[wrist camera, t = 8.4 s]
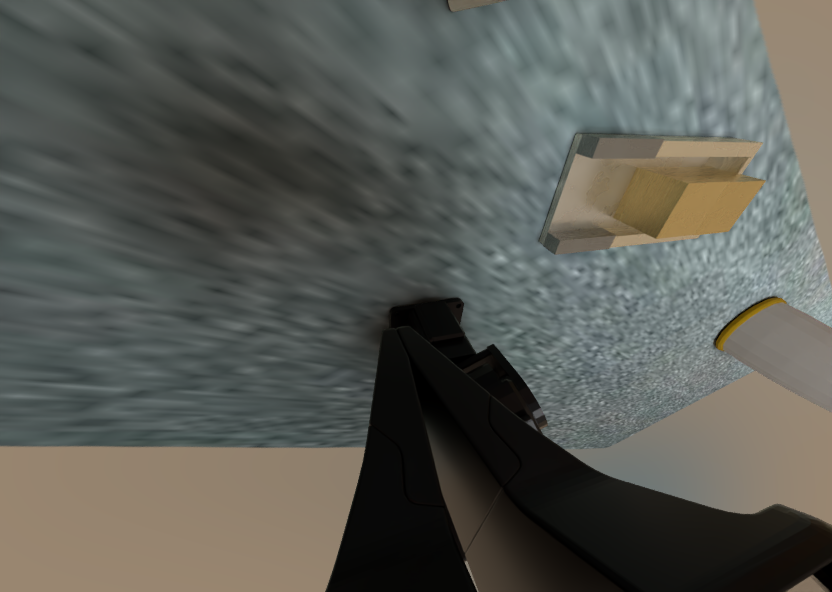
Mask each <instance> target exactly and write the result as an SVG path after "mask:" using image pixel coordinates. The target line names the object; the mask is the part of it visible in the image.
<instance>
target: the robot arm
mask: <svg viewBox="0 0 832 592" xmlns="http://www.w3.org/2000/svg"><path fill="white" fill-rule="evenodd" d="M457 304H458V305H457ZM463 307H464V303H463V301H462V300H461V299H451V300H444V301H437V302H430V303H423V304H416V305H409V306H402V307H395V308H393V309H391V311H390V321H389V329H385V330H383V331H382V336H381V343H380V350H379V357H378V365H377V372H376V379H375V386H374V393H373V400H372V407H371V414H370V421H369V427H368V434H367V441H366V447H365V453H364V458H363V463H362V467H361V471H360V476H359V479H358V483H357V487H356V491H355V494H354V498H353V501H352V505H351V509H350V512H349V516H348V519H347V523H346V526H345V530H344V534H343V538H342V541H341V545H340V548H339V551H338V555H337V558H336V562H335V565H334V568H333V571H332V574H331V577H330V580H329V583H328V585H327V588H326V591H325V592H477V590H476V588H475V586H474V583H473V581H472V579H471V576H470V574H469V572H468V569H467V567H466V565H465V561H468V564H469V567H470V570H471V572H472V575H473V578H474V580H475V583H476V586H477V588H478V591H479V592H832V525H831V524H828V523H826V522H824V521H822V520H820V519H818V518H815V517H813V516H811V515H808V514H806V513H803V512H800V511H797V510H794V509H792V508H789V507H786V506H784V505H781V504H774V505H772V506H769V507H767V508H765V509H763V510H761V511H759V512H757V513H755V514H739V513H733V512H727V511H723V510H719V509H715V508H711V507H708V506H705V505H702V504H698V503H695V502H692V501H688V500H685V499H682V498H678V497H675V496H672V495H668V494H665V493H662V492H658V491H655V490H651V489H648V488H645V487H642V486H638V485H635V484H632V483H629V482H625V481H622V480H618V479H616V478H613V477H610V476H608V475H605V474H603V473H601V472H599V471H597V470H595V469H593V468H591V467H590V466H588V465H586V464H585V463H583V462H582V461H580V460H579V459H577V458H576V457H574V456H573V455H571V454H570V453H569V452H567V451H565V450H564V449H563V448H562V447H560V446H559V445H557V444H556V443H554V442H553V441H551V440H550V439H549V438H547V437H546V436H544V435H543V434H542V432H541V430H540V429H542V428H544V427H546V426H548V423H547V420H546V418H545V415H544V413H543V411H542V409H541V407H540V406H539V404H538V402H537V400H536V399H535V397H534V395H533V394H532V392H531V391H530V389H529V388H528V386H527V385H526V383H525V382H524V380H523V379H522V378H521V377H520V375H519V374H518V373H517V372H516V370H515V369H514V368H513V367H512V366H511V364H510V363H509V362H508V361H507V360H506V358H505V357H504V356H503V355H502V354H501V352H500V351H499V350H498V349H497V348H496V346H495V345H494V344H492V345H490V346H488V347H487V349H485V350H483V351H481V352H479V353H477V354H476V352H475V350H474V349H473V347H472V345H471V344H470V342H469V340H468V339H467V337H466V336H465V332H464V331H463V329H462V327H461V326H460V322H461V317H462V312H463ZM395 313H398V314H396V315H395Z"/></svg>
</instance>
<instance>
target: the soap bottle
mask: <svg viewBox="0 0 832 592" xmlns="http://www.w3.org/2000/svg"><path fill="white" fill-rule="evenodd" d="M716 347H717V349H718V350H722V351H726V352H727V353H729V354H730V355H732V356H733V357H735V358H736V359H738V360H739V361H740V362H742V363H744V364H745V365H747V366H749V367H750V368H752V369H753V370H755V371H757V372H758V373H760V374H762V375H763V376H765V377H767V378H768V379H770V380H772V381H774V382H775V383H777V384H779V385H781V386H783V387H784V388H786V389H788V390H790V391H792V392H793V393H795V394H797V395H799V396H801V397H803V398H805V399H807V400H809V401H810V402H812V403H814V404H816V405H818V406H820V407H822V408H824V409H826V410H828V411H830V412H832V328H831V327H829V326H827V325H825V324H824V323H822V322H820V321H818V320H817V319H815V318H813V317H811V316H809V315H808V314H806V313H804V312H802V311H800V310H797V309H795V308H793V307H791V306H789V305H787V303H786V301H784V300H783V299H782V298H777V297H776V298H771V299H767V300H765V301H763V302H761V303H759V304H756V305H754V306H752V307H751V308H749V309H748V310H746V311H745V312H743V313H742V314H740V315H739V316H738V317H737V318H736V319H734V320H733V321H732V322H731V323H730V324H729V325H728V326H727V327H726V328H725V329H724V330H723V331H722V332H721V334H720V336H719V337H718V339H717V341H716Z"/></svg>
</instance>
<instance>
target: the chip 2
mask: <svg viewBox="0 0 832 592" xmlns="http://www.w3.org/2000/svg"><path fill="white" fill-rule="evenodd" d="M679 168H682V169H686V170H689V171H693V172H697V173H700V174H704V175H708V176H711V177H715V178H719V179H722V180H726V181H729V183H728V185H727V186H726V188H725V189H724V191H723V192H722V194H721V195H720V197H719V198H718V200H717V201H716V203H715V204H714V206H713V207H712V209H711V210H710V212H709V213H708V215H707V216H706V218H705V219H704V221H703V222H702V224H701V225H700V227H699V228H698V230H697V231H696V233H695V234H694V235H702V234H711V233H720V232H728V231H729V230H730V229H731V227H732V226H733V225H734V223H735V222H736V221H737V219H738V218H739V216H740V215H741V214H742V212H743V211H744V210H745V208H746V207H747V206H748V204H749V203H750V202H751V200H752V199H753V198H754V196H755V195H756V193H757V192H758V191H759V189H760V188H761V187H762V185H763V184H764V183H765V180H761V179H757V178H753V177H749V176H745V175H742V174H738V173H734V172H730V171H726V170H722V169H718V168H714V167H710V166H704V167H679Z"/></svg>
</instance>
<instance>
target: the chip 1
mask: <svg viewBox="0 0 832 592" xmlns="http://www.w3.org/2000/svg"><path fill="white" fill-rule="evenodd" d="M728 183H729V181H726V180H722V179H719V178H715V177H711V176H708V175H704V174H700V173H697V172H693V171H689V170H686V169H682V168H679V167H637V168H636V170H635V172H634V174H633V176H632V179H631V181H630V183H629V185H628V187H627V189H626V191H625V193H624V195H623V198H622V200H621V202H620V204H619V206H618V208H617V210H616V212H615V214H614V216H613V218H614V219H616V220H618V221H620V222H622V223H624V224H626V225H628V226H631V227H633V228H635V229H637V230H639V231H641V232H643V233H645V234H647V235H649V236H651V237H653V238H655V239H660V238H669V237H678V236H688V235H694V234H695V233H696V231H697V230H698V228H699V227H700V225H701V224H702V222H703V221H704V219H705V218H706V216H707V215H708V213H709V212H710V210H711V209H712V207H713V206H714V204H715V203H716V201H717V200H718V198H719V197H720V195H721V194H722V192H723V191H724V189H725V188H726V186H727V185H728Z"/></svg>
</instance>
